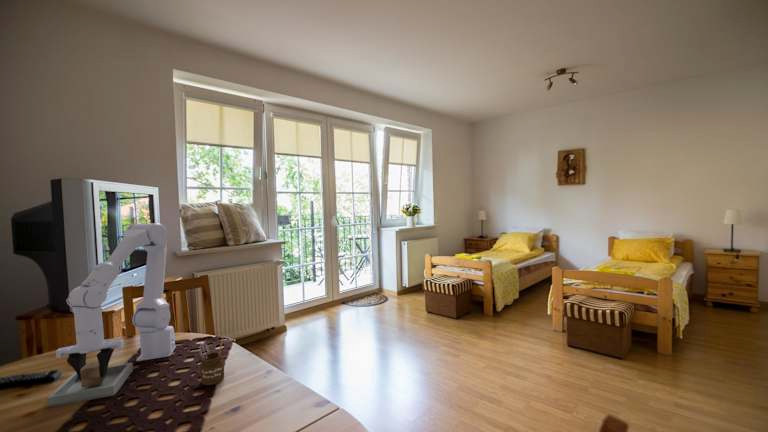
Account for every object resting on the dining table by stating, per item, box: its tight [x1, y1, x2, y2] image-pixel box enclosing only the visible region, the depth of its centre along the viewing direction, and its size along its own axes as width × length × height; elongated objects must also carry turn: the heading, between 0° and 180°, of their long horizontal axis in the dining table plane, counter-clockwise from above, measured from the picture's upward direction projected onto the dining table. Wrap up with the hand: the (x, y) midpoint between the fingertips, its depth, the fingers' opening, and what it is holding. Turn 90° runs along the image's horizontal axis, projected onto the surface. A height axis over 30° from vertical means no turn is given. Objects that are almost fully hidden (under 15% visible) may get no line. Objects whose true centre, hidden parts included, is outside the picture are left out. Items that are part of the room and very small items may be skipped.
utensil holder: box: [199, 335, 225, 386], centre depth 96 cm, size 6×6×12 cm
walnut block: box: [80, 360, 106, 388], centre depth 95 cm, size 4×4×5 cm
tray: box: [46, 362, 134, 408], centre depth 95 cm, size 14×14×2 cm
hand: (93, 377), depth 95 cm, fingers closed on walnut block, 4 cm apart
